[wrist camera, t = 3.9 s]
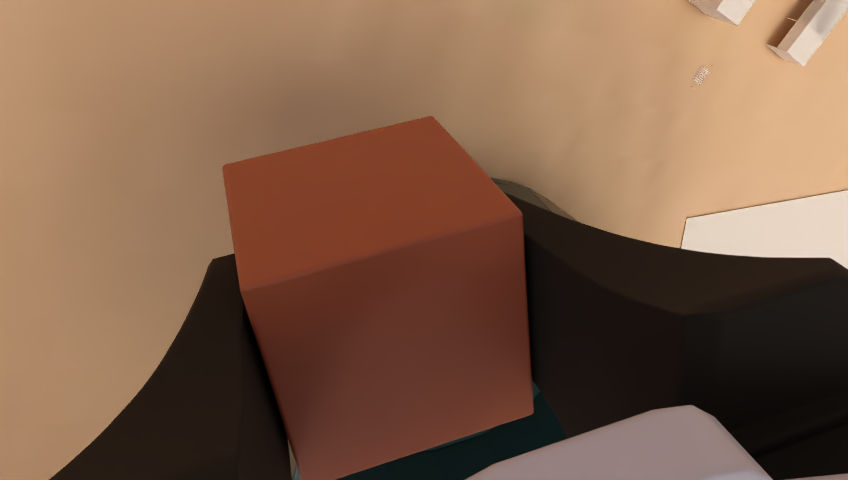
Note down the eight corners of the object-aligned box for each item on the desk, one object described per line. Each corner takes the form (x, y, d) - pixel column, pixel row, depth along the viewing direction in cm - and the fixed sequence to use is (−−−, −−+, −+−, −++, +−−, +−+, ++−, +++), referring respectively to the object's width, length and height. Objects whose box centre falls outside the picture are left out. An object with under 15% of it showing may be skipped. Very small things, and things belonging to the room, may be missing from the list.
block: (273, 336, 15) (304, 491, 12) (221, 164, 13) (238, 289, 10) (454, 284, 16) (535, 415, 13) (433, 114, 14) (524, 212, 10)
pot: (309, 494, 29) (339, 640, 24) (227, 229, 23) (243, 351, 17) (591, 402, 32) (674, 516, 27) (594, 138, 25) (707, 220, 20)
